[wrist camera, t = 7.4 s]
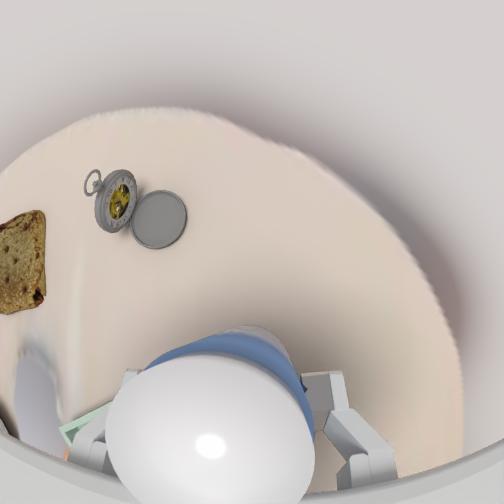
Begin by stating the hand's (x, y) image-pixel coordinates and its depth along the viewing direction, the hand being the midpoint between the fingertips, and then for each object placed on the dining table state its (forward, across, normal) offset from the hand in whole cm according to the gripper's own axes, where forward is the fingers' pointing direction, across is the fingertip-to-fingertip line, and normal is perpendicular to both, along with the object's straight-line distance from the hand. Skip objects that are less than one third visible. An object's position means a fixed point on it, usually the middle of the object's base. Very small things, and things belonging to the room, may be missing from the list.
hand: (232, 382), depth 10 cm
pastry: (+20, -34, -8) cm, 41 cm away
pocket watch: (+23, -12, -4) cm, 26 cm away
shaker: (+4, 0, -5) cm, 7 cm away
